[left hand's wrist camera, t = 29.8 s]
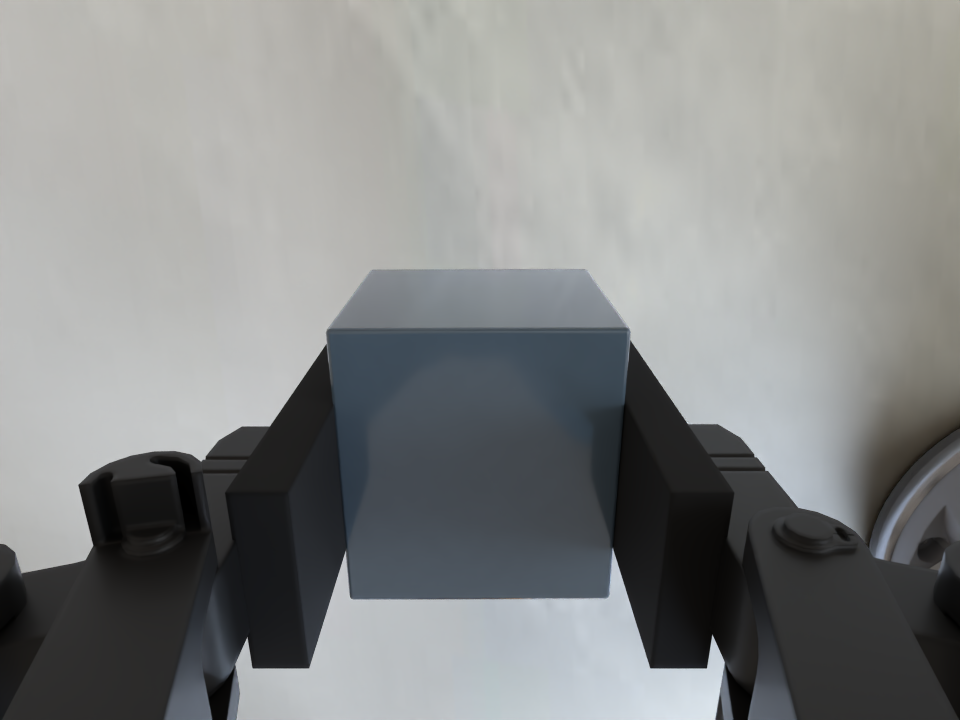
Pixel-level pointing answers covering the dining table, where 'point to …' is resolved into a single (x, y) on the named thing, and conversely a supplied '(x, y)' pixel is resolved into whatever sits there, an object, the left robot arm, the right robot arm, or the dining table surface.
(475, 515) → the block
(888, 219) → the dining table surface
